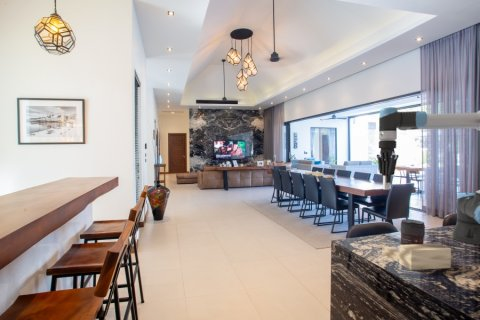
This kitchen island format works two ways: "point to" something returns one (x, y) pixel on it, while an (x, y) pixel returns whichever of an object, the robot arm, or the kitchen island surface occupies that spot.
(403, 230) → the camera lens
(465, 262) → the kitchen island surface
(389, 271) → the kitchen island surface
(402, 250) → the cradle
